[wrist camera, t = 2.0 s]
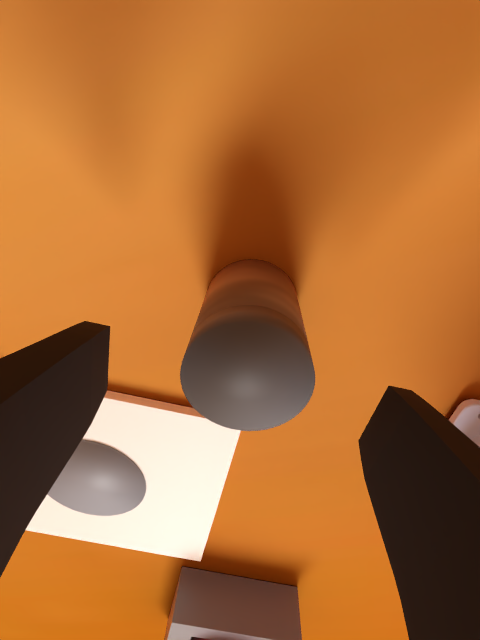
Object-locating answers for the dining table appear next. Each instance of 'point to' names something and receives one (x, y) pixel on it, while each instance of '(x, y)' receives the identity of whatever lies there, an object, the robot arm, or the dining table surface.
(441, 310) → the dining table surface
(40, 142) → the dining table surface
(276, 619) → the button housing
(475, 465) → the robot arm
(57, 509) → the paper sheet
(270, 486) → the dining table surface
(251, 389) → the grey rounded cylinder
